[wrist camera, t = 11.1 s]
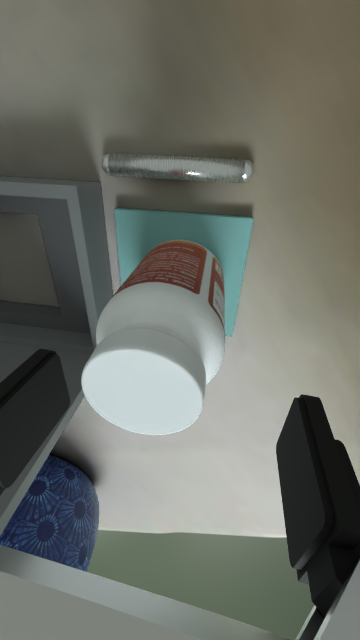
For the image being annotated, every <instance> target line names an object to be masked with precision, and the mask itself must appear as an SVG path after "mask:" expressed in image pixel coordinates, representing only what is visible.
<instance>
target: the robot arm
mask: <svg viewBox="0 0 360 640" xmlns="http://www.w3.org/2000/svg"><path fill="white" fill-rule="evenodd" d="M69 405H70V396H69V392H68V388H67V384H66V380H65V376H64V372H63V368H62V364H61V360H60V357H59V356H58V355H57V353H56V352H55V351H52V350H47V349H39V350H37V351H36V352H35V353H34V354H33V355H31V356H30V357H29V358H28V359H27V360H26V361H25V362H23V363H22V364H21V365H20V366H19V367H18V368H17V369H15V370H14V371H13V372H12V373H11V374H10V375H9V376H7V377H6V378H5V379H4V380H3V381H2V382H1V383H0V495H1V494H2V493H3V491H4V490H5V489H6V488H9V487H10V486H11V485H12V484H13V483H14V482H15V480H16V479H17V478H18V476H19V475H20V473H21V472H22V471H23V469H24V468H25V467H26V465H27V464H28V462H29V461H30V460H31V458H32V457H33V456H34V454H35V453H36V452H37V450H38V449H39V447H40V446H41V445H42V443H43V442H44V441H45V439H46V438H47V437H48V435H49V434H50V432H51V431H52V430H53V428H54V427H55V426H56V424H57V423H58V422H59V420H60V419H61V417H62V416H63V415H64V413H65V412H66V411H67V409H68V408H69ZM276 454H277V462H278V470H279V478H280V486H281V494H282V503H283V511H284V519H285V527H286V535H287V543H288V551H289V558H290V563H291V566H292V567H293V568H295V569H297V575H298V581H299V582H303V583H307V584H309V586H310V592H311V598H312V602H313V603H314V604H315V606H314V607H313V609H312V611H311V613H310V614H309V616H308V618H307V620H306V622H305V623H304V625H303V627H302V629H301V631H300V632H299V634H298V636H297V638H296V639H295V640H360V485H359V483H358V480H357V477H356V475H355V472H354V469H353V467H352V464H351V461H350V459H349V456H348V453H347V451H346V448H345V446H344V444H343V443H342V442H341V441H339V440H335V439H334V437H333V434H332V431H331V428H330V425H329V422H328V419H327V417H326V414H325V411H324V408H323V405H322V402H321V400H320V398H319V397H313V396H308V395H300V397H299V398H294V400H293V403H292V405H291V408H290V410H289V413H288V416H287V418H286V421H285V423H284V426H283V429H282V431H281V434H280V436H279V439H278V442H277V446H276ZM0 640H289V639H287V638H284V637H282V636H279V635H277V634H274V633H271V632H268V631H265V630H262V629H259V628H256V627H253V626H251V625H248V624H245V623H242V622H239V621H236V620H234V619H230V618H228V617H225V616H222V615H219V614H216V613H213V612H210V611H207V610H204V609H200V608H198V607H194V606H191V605H188V604H185V603H182V602H179V601H176V600H173V599H169V598H166V597H163V596H160V595H157V594H154V593H151V592H148V591H145V590H142V589H139V588H136V587H132V586H129V585H126V584H123V583H120V582H117V581H113V580H110V579H107V578H104V577H101V576H97V575H95V574H91V573H88V572H85V571H82V570H79V569H76V568H73V567H69V566H66V565H63V564H60V563H57V562H54V561H50V560H47V559H44V558H41V557H38V556H35V555H31V554H28V553H25V552H22V551H18V550H15V549H12V548H9V547H6V546H2V545H0Z"/></svg>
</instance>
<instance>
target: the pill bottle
mask: <svg viewBox="0 0 360 640" xmlns="http://www.w3.org/2000/svg"><path fill="white" fill-rule="evenodd" d="M96 343H97V346H96V348H95V350H94V352H93V353H92V355H91V357H90V358H89V360H88V361H87V363H86V365H85V367H84V369H83V372H82V377H81V385H82V389H83V392H84V395H85V397H86V399H87V400H88V402H89V404H90V405H91V406H92V407H93V408H94V410H95V411H96V412H97V413H98V414H100V415H101V416H102V417H103V418H105V419H106V420H107V421H109V422H111V423H113V424H114V425H116V426H118V427H121V428H123V429H125V430H128V431H132V432H136V433H140V434H147V435H166V434H171V433H175V432H178V431H181V430H183V429H185V428H187V427H189V426H190V425H191V424H192V423H193V422H195V421H196V419H197V418H198V417H199V415H200V413H201V411H202V408H203V403H204V395H205V386H206V384H207V383H208V382H209V381H210V380H211V379H212V378H213V377H214V376H215V374H216V373H217V371H218V370H219V368H220V366H221V363H222V360H223V357H224V351H225V282H224V274H223V270H222V267H221V265H220V263H219V261H218V260H217V258H216V257H215V256H214V255H213V254H212V253H211V252H210V251H209V250H208V249H207V248H205V247H203V246H202V245H200V244H198V243H195V242H192V241H187V240H171V241H167V242H164V243H161V244H159V245H158V246H156V247H155V248H153V249H152V250H151V251H150V252H149V253H148V254H147V255H146V256H145V257H144V258H143V260H142V261H141V262H140V263H139V265H138V266H137V267H136V268H135V269H134V271H133V272H132V273H131V274H130V276H129V277H128V278H127V279H126V281H125V282H124V283H123V284H122V286H121V287H120V288H119V289H118V290H117V292H116V293H115V294H114V296H113V297H112V298H111V299H110V300H109V302H108V304H107V305H106V307H105V308H104V309H103V311H102V313H101V315H100V317H99V320H98V323H97V328H96Z"/></svg>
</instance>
